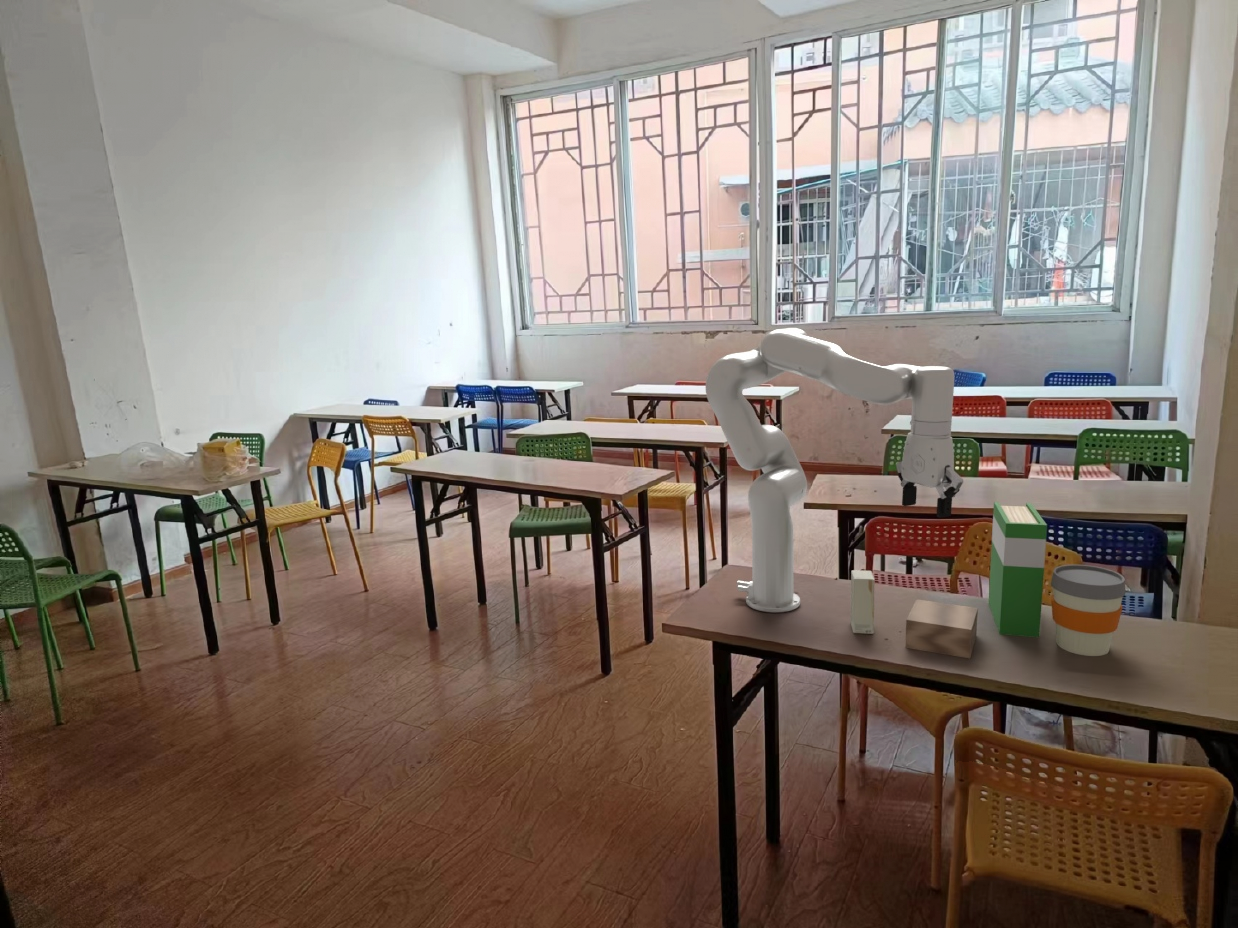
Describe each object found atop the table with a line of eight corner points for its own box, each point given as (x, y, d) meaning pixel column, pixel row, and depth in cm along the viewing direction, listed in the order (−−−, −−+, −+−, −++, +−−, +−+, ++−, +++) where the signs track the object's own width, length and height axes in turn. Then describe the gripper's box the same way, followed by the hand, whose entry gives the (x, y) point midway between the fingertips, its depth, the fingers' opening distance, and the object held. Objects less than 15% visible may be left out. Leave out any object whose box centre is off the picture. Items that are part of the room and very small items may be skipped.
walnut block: (905, 647, 156) (906, 619, 154) (915, 625, 166) (916, 599, 165) (969, 658, 150) (971, 629, 148) (976, 635, 160) (977, 608, 159)
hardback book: (988, 602, 176) (994, 501, 172) (1024, 605, 174) (1030, 503, 169) (999, 633, 160) (1005, 523, 155) (1039, 637, 158) (1047, 525, 153)
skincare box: (874, 634, 162) (875, 579, 160) (852, 633, 163) (853, 579, 161) (870, 622, 168) (871, 569, 166) (850, 621, 169) (851, 569, 167)
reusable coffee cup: (1035, 646, 154) (1040, 575, 151) (1061, 627, 161) (1066, 559, 159) (1106, 666, 144) (1112, 591, 141) (1129, 645, 152) (1136, 574, 149)
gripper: (886, 424, 160) (882, 503, 164) (949, 436, 144) (943, 523, 148) (914, 421, 163) (910, 499, 166) (979, 433, 147) (973, 519, 151)
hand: (925, 510), depth 157 cm, fingers open, 9 cm apart
